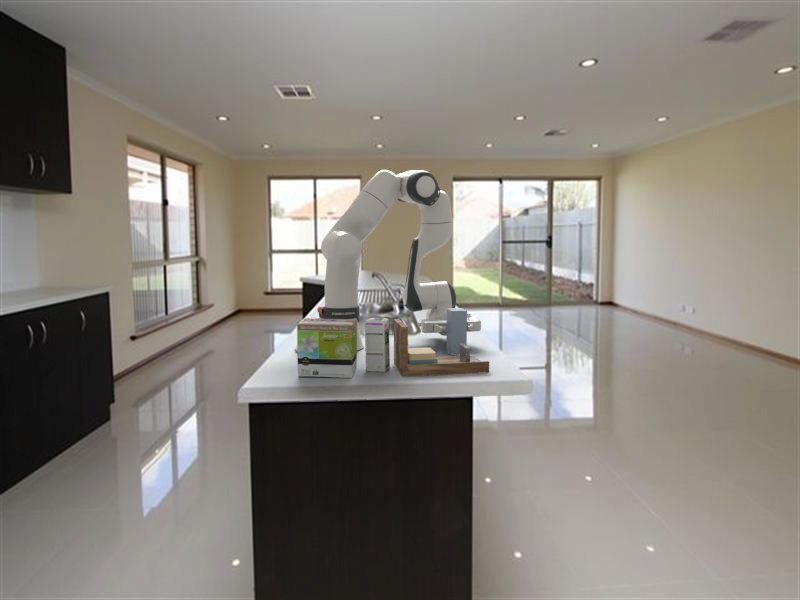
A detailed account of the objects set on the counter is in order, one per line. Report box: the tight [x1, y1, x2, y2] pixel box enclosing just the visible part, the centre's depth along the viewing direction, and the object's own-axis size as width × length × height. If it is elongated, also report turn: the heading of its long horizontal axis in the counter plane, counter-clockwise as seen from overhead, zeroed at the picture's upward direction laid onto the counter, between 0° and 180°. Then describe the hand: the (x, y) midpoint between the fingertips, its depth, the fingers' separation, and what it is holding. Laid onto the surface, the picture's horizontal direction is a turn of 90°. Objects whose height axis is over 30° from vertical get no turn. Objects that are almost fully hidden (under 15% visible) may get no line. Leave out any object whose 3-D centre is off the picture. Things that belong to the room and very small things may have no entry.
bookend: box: [459, 344, 481, 362], centre depth 153 cm, size 6×5×5 cm
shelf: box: [393, 318, 490, 377], centre depth 152 cm, size 14×24×14 cm, turn 100°
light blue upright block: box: [445, 307, 468, 355], centre depth 173 cm, size 5×6×14 cm
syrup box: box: [364, 317, 391, 373], centre depth 151 cm, size 6×6×14 cm
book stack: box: [408, 347, 438, 364], centre depth 152 cm, size 8×8×4 cm
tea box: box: [296, 317, 358, 379], centre depth 147 cm, size 15×10×15 cm, turn 87°
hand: (456, 329), depth 172 cm, fingers open, 8 cm apart
